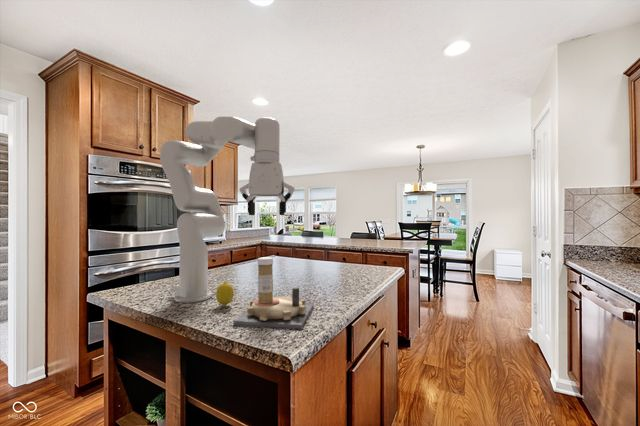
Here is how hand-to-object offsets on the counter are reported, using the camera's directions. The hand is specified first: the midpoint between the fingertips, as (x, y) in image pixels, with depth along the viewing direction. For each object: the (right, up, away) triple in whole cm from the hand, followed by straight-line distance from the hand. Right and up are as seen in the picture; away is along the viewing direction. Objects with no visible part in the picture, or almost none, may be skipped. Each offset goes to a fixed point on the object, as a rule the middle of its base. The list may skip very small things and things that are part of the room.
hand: (266, 215), depth 85 cm
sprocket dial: (+3, -29, -1) cm, 29 cm away
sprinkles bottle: (0, -27, -1) cm, 27 cm away
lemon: (-15, -31, +8) cm, 35 cm away
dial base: (+3, -30, -1) cm, 31 cm away
